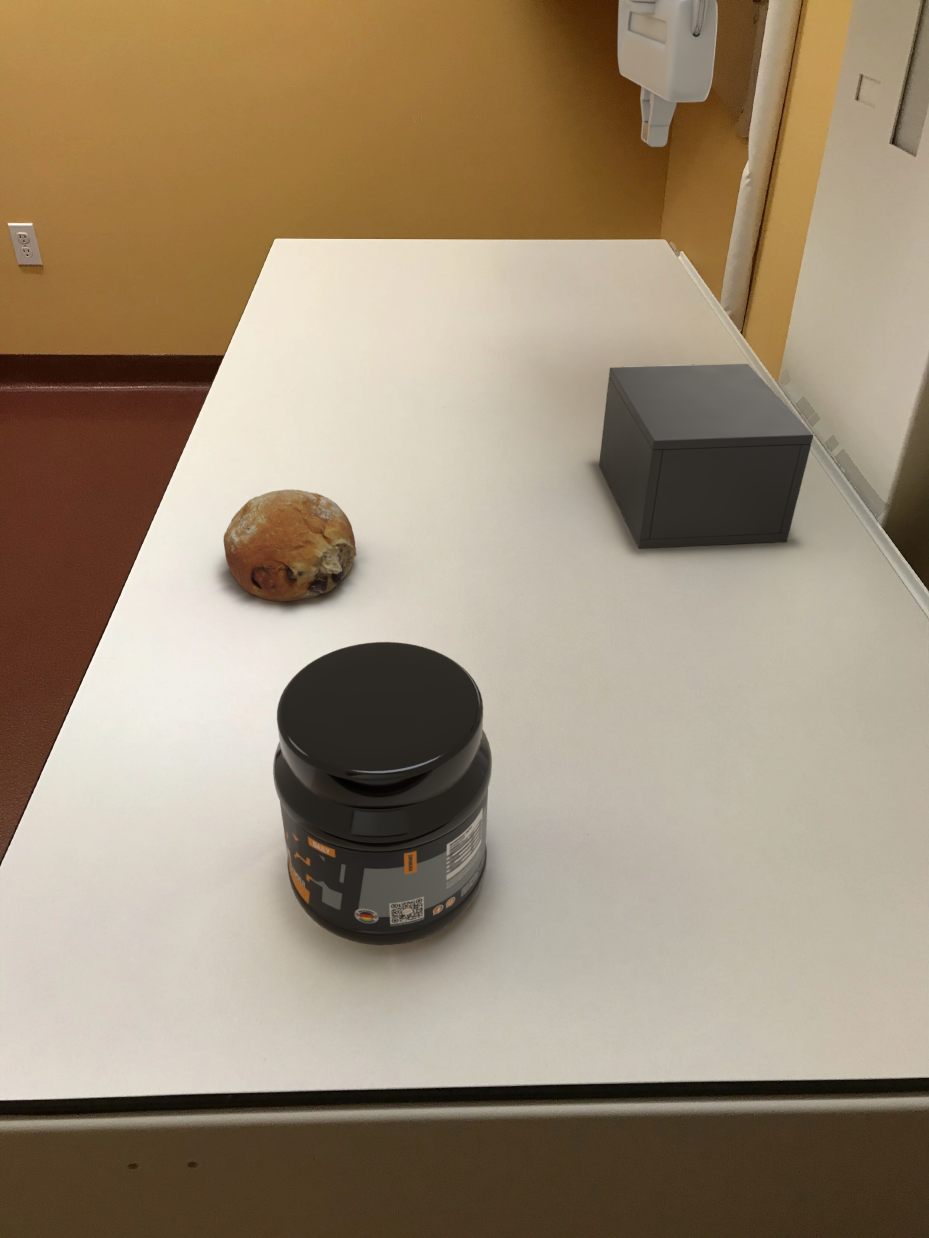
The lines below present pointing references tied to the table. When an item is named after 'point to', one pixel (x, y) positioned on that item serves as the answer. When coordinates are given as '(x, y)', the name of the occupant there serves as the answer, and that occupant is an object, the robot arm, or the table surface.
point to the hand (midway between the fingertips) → (653, 144)
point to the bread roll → (289, 545)
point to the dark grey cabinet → (701, 455)
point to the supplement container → (383, 791)
